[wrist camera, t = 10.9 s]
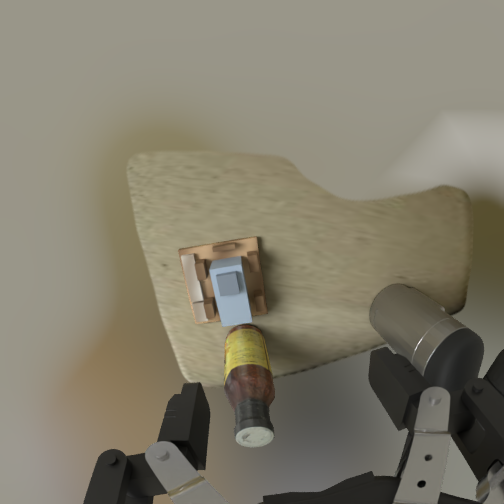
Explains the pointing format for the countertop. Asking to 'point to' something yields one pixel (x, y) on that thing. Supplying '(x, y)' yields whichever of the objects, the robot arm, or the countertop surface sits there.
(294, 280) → the countertop surface
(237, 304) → the light blue block
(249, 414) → the sauce bottle
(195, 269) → the jig
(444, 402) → the robot arm
